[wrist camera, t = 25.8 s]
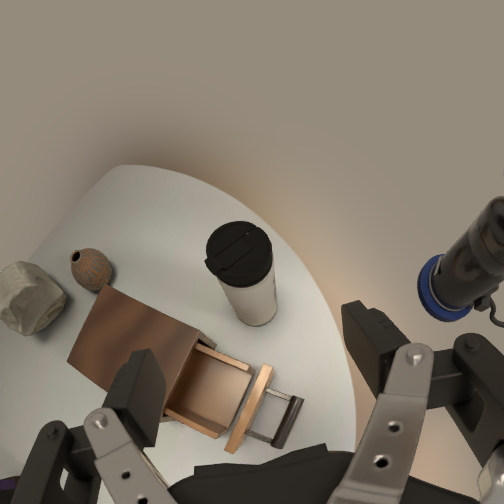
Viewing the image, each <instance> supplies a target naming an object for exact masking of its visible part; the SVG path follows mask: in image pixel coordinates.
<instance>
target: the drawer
mask: <svg viewBox="0 0 504 504" xmlns="http://www.w3.org/2000/svg"><path fill="white" fill-rule="evenodd" d="M254 372H255V370H254V369H253V368H252V367H251V366H250V365H248V364H246V363H243V362H241V361H238V360H236V359H234V358H231V357H229V356H226V355H224V354H222V353H220V352H217V351H215V350H213V349H210V348H208V347H206V346H204V345H202V344H199V343H196V345H195V347H194V349H193V351H192V353H191V356H190V358H189V360H188V362H187V364H186V366H185V368H184V370H183V373H182V375H181V377H180V379H179V381H178V383H177V385H176V388H175V390H174V392H173V394H172V396H171V398H170V400H169V403H168V405H167V407H166V409H165V411H164V413H165V414H167V415H168V416H170V417H172V418H174V419H176V420H178V421H180V422H181V423H183V424H185V425H187V426H189V427H191V428H193V429H195V430H197V431H199V432H201V433H203V434H206V435H208V436H210V437H212V438H214V439H217V438H219V437H220V436H222V435H223V434H225V433H227V431H228V429H229V427H230V425H231V423H232V421H233V418H234V416H235V414H236V412H237V410H238V408H239V405H240V403H241V401H242V399H243V397H244V394H245V392H246V390H247V388H248V385H249V383H250V381H251V379H252V376H253V374H254ZM274 373H275V371H274V369H273V367H272V366H269V365H267V364H263V366H262V368H261V370H260V373H259V375H258V377H257V379H256V382H255V384H254V386H253V389H252V391H251V393H250V395H249V397H248V400H247V402H246V404H245V406H244V408H243V411H242V413H241V415H240V417H239V419H238V421H237V424H236V426H235V428H234V430H233V432H232V434H231V436H230V438H229V441H228V443H227V445H226V447H225V449H224V450H225V451H227V452H229V453H232V454H234V453H235V452H236V451H237V450H238V448H239V447H240V446H241V445H242V444H243V442H244V440H245V437H246V435H249V436H252V437H254V438H257V439H259V440H262V441H265V442H267V443H270V445H271V446H273V447H275V448H277V449H283V447H284V445H285V443H286V440H287V438H288V436H289V434H290V432H291V429H292V427H293V425H294V423H295V421H296V418H297V416H298V414H299V411H300V409H301V407H302V404H303V402H304V399H302V398H299V397H296V396H292V397H291V396H288V395H286V394H283V393H280V392H278V391H275V390H272V389H270V388H268V387H269V385H270V382H271V380H272V378H273V375H274ZM266 392H267V393H269V394H272V395H275V396H277V397H280V398H283V399H286V400H288V401H290V402H289V404H288V407H287V409H286V411H285V414H284V416H283V418H282V420H281V423H280V425H279V427H278V429H277V431H276V434H275V436H274V438H273V439H271V438H268V437H266V436H263V435H260V434H258V433H255V432H253V431H250V430H249V429H250V427H251V425H252V423H253V420H254V418H255V416H256V414H257V412H258V409H259V407H260V405H261V403H262V400H263V398H264V396H265V394H266Z"/></svg>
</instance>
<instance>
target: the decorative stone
mask: <svg viewBox="0 0 504 504" xmlns="http://www.w3.org/2000/svg"><path fill="white" fill-rule="evenodd" d="M65 303H66V294H65V292H64V291H63V290H62V289H61V288H60V287H59V286H58V285H57V283H56V282H55V281H54V280H53V279H52V278H51V277H50V276H49V275H48V274H47V273H46V272H45V271H44V270H43V269H41V268H40V267H39V266H38V265H35V264H32V263H28V262H23V261H18V262H15V263H13V264H10V265H9V266H7V267H6V268H5V269H3V270H2V272H0V319H1V320H3V321H4V322H5V324H6V325H7V326H8V327H9V328H10V329H12V330H14V331H16V332H18V333H20V334H22V335H23V336H30V335H32V334H34V333H36V332H38V331H40V330H43V329H44V328H45V327H47V326H48V325H49V324H50V323H51V322H52V321H53V320H54V319H55V317H56V316H57V315H59V313H60V312H61V311H62V310H63V308H64V305H65Z"/></svg>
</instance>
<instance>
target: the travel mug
mask: <svg viewBox="0 0 504 504" xmlns="http://www.w3.org/2000/svg"><path fill="white" fill-rule="evenodd" d="M206 254H207V259H206V260H205V261H204V262H205V264H206V266H207V268H208V269H209V270H210V272H211V273H212V274H213V275H215V276H216V277H217V279H218V281H219V283H220V285H221V286H222V288H223V290H224V292H225V294H226V296H227V297H228V299H229V301H230V303H231V305H232V307H233V308H234V310H235V312H236V314H237V316H238V317H239V319H240V320H241V321H242V322H243V323H245V324H247V325H250V326H262V325H265V324H267V323H268V322H270V321H271V320H272V319H273V317H274V316H275V314H276V311H277V299H276V285H275V273H274V260H273V253H272V244H271V242H270V240H269V238H268V235H267V234H266V233H265V232H264V231H263V230H262V229H261V228H259V227H256V225H254V224H252V223H250V222H245V221H235V222H230V223H227V224H224V225H222V226H220V227H219V228H218V229H216V230H215V231H214V232H213V233H212V235H211V236H210V238H209V239H208V242H207V245H206Z"/></svg>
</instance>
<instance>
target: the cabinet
mask: <svg viewBox="0 0 504 504" xmlns="http://www.w3.org/2000/svg"><path fill="white" fill-rule="evenodd" d="M196 343H199V344H202V345H204V346H206V347H208V348H210V349H213V350H214V349H215V347H216V345H217V344H216V343H214V342H213V341H212V340H211V339H209V338H208V337H207V336H206V335H205V334H203V333H202V332H201V331H200V330H198V329H195V328H193V327H191V326H189V325H187V324H185V323H182V322H180V321H178V320H176V319H174V318H172V317H170V316H167V315H165V314H163V313H161V312H159V311H157V310H155V309H153V308H151V307H149V306H147V305H145V304H143V303H141V302H139V301H137V300H135V299H133V298H131V297H129V296H127V295H126V294H124V293H122V292H120V291H118V290H116V289H114V288H112V287H110V286H109V285H107V284H104V286H103V288H102V290H101V292H100V293H99V295H98V297H97V299H96V301H95V303H94V305H93V307H92V309H91V311H90V313H89V315H88V317H87V319H86V321H85V323H84V325H83V327H82V329H81V331H80V333H79V335H78V338H77V340H76V342H75V344H74V346H73V348H72V351H71V353H70V355H69V357H68V359H67V362H68V363H69V364H70V365H72V366H73V367H74V368H75V369H77V370H78V371H79V372H80V373H82V374H83V375H84V376H86V377H87V378H88V379H90V380H91V381H92V382H94V383H95V384H97V385H98V386H99V387H101V388H102V389H104V390H105V391H106V392H108V391H109V389H110V388H111V384H112V382H113V381H114V377H115V375H116V373H117V371H118V370H119V369H120V368H121V367H122V366H123V364H124V363H127V362H128V360H129V358H130V355H131V353H132V352H133V351H135V350H141V349H148V348H149V349H151V350H152V352H153V353H154V356H155V358H156V360H157V362H158V364H159V366H160V368H161V370H162V372H163V374H164V377H165V380H166V386H167V388H166V394H165V398H164V403H163V408H162V413H161V417H160V422H159V423H161V422H167V421H173V420H176V419H174V418H172V417H170V416H168V415H167V414H165V413H164V411H165V409H166V407H167V405H168V403H169V400H170V398H171V396H172V394H173V392H174V390H175V388H176V385H177V383H178V381H179V379H180V377H181V375H182V373H183V370H184V368H185V366H186V364H187V362H188V360H189V358H190V356H191V353H192V351H193V349H194V347H195V345H196Z"/></svg>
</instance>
